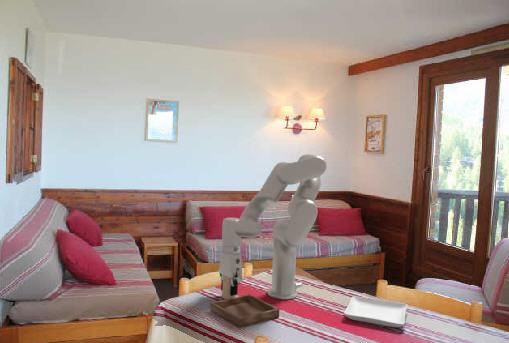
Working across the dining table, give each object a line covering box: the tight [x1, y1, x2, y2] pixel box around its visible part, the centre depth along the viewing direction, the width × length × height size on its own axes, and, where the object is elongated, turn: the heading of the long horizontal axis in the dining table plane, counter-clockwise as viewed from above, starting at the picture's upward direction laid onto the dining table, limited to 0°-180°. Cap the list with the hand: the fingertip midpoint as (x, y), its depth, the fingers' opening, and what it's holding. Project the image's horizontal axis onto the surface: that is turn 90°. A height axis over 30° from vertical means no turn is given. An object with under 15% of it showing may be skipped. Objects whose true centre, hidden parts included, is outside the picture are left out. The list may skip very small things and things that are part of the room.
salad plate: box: [343, 295, 409, 328], centre depth 170 cm, size 21×21×3 cm
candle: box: [221, 275, 237, 300], centre depth 182 cm, size 6×6×10 cm
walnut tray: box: [210, 293, 280, 329], centre depth 166 cm, size 18×18×3 cm
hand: (229, 292), depth 182 cm, fingers closed on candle, 5 cm apart
